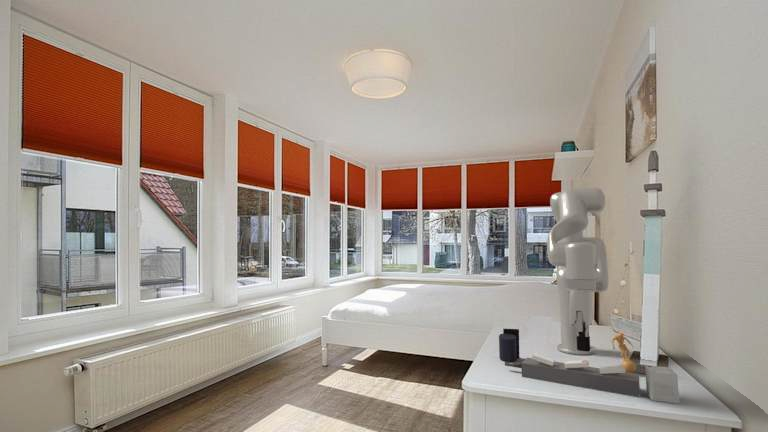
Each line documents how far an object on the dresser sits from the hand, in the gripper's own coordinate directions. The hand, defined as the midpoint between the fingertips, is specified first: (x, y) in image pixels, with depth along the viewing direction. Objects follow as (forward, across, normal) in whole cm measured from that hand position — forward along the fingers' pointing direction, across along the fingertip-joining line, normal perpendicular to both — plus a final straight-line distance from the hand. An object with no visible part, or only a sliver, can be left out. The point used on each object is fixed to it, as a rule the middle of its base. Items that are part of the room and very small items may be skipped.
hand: (583, 350), depth 113 cm
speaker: (+10, -14, -25) cm, 30 cm away
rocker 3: (+4, 0, +7) cm, 8 cm away
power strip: (+10, -2, -5) cm, 11 cm away
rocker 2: (+4, 0, -2) cm, 5 cm away
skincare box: (+10, -1, +18) cm, 21 cm away
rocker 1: (+4, 0, -11) cm, 12 cm away
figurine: (+10, -20, +9) cm, 24 cm away
